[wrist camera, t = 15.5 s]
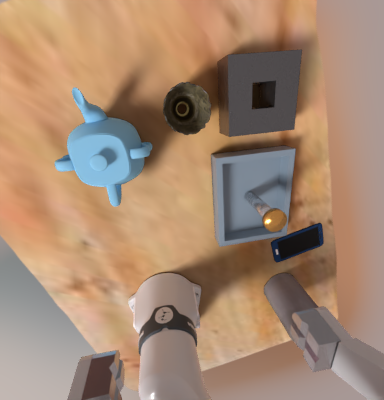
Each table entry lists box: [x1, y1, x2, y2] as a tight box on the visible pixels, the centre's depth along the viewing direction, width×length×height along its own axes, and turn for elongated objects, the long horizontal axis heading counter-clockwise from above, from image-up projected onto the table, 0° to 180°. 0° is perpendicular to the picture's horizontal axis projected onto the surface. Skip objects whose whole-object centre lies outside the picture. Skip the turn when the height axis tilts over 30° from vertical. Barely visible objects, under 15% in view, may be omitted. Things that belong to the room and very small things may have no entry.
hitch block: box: [217, 50, 302, 137], centre depth 39 cm, size 12×12×6 cm
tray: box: [211, 145, 296, 247], centre depth 48 cm, size 20×16×4 cm
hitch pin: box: [244, 191, 287, 232], centre depth 43 cm, size 4×4×12 cm
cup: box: [163, 82, 211, 135], centre depth 37 cm, size 8×7×8 cm
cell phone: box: [271, 223, 323, 262], centre depth 58 cm, size 7×14×1 cm, turn 109°
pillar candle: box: [264, 273, 318, 342], centre depth 56 cm, size 10×10×15 cm
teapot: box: [55, 88, 152, 206], centre depth 36 cm, size 13×14×11 cm
